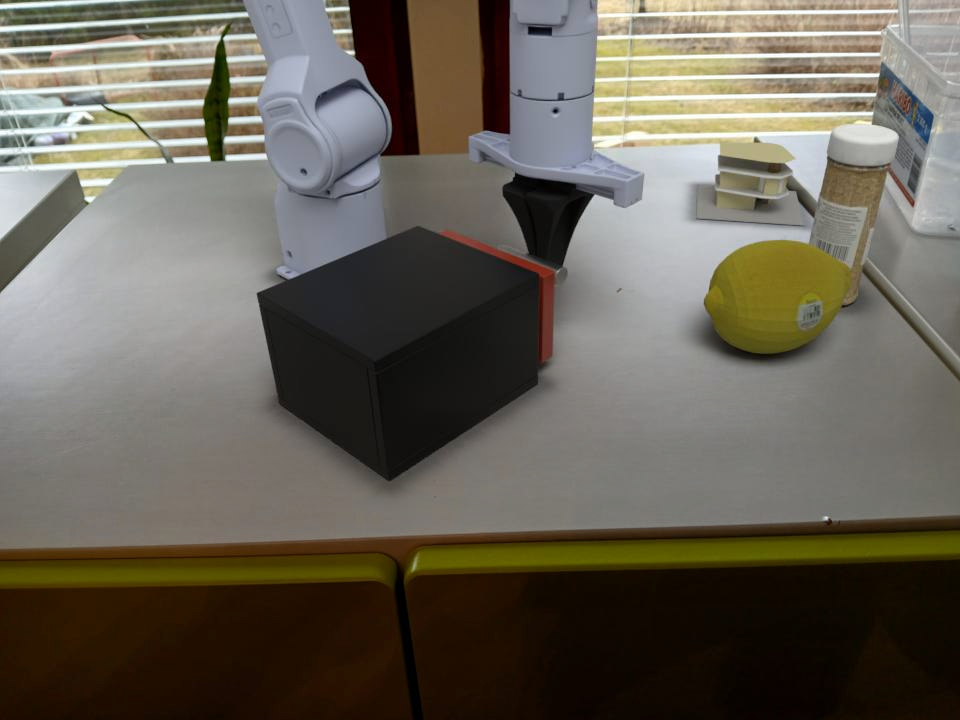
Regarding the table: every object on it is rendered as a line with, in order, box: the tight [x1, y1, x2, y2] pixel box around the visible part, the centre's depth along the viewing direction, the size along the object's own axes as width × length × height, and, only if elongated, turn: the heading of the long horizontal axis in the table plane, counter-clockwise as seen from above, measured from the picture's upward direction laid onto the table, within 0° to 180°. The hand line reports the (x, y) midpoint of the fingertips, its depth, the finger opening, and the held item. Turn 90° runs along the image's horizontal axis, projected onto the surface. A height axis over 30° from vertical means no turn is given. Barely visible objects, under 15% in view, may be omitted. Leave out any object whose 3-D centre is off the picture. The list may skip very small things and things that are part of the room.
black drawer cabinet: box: [256, 225, 540, 482], centre depth 52 cm, size 14×12×9 cm
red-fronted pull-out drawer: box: [437, 229, 569, 364], centre depth 55 cm, size 17×10×7 cm, turn 136°
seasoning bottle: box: [808, 123, 900, 306], centre depth 61 cm, size 5×5×13 cm
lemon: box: [703, 239, 852, 355], centre depth 56 cm, size 11×8×8 cm
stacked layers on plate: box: [696, 142, 805, 226], centre depth 79 cm, size 10×9×6 cm
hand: (547, 270), depth 61 cm, fingers closed, pressing on red-fronted pull-out drawer
